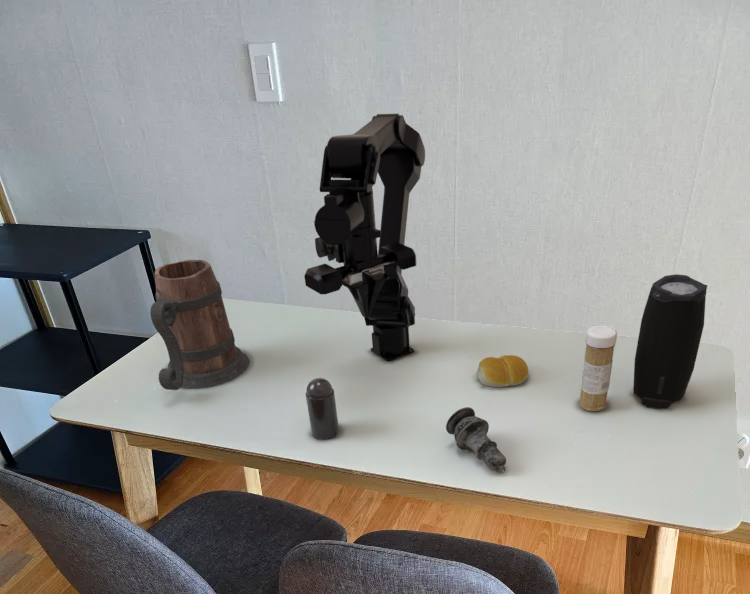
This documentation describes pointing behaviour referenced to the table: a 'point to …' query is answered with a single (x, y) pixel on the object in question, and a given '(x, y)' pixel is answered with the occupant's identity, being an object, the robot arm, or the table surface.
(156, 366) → the table surface
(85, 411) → the table surface
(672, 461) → the table surface
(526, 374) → the bread roll
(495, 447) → the grey turned piece
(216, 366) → the tankard
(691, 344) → the portable speaker
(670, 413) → the table surface
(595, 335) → the sprinkles bottle
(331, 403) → the pepper pot
